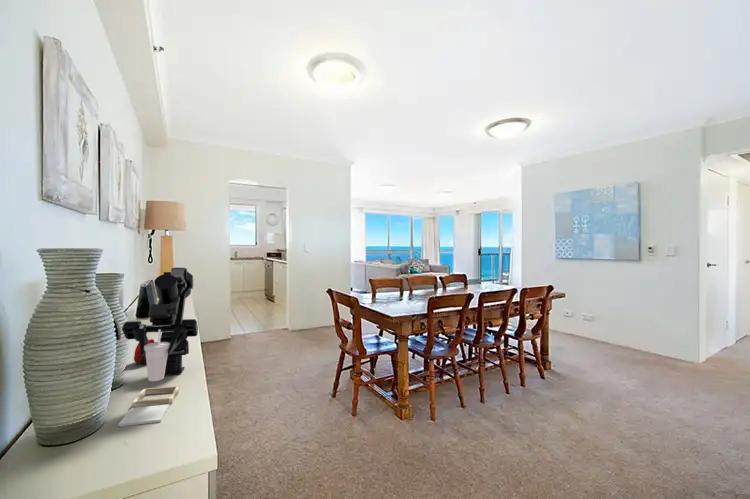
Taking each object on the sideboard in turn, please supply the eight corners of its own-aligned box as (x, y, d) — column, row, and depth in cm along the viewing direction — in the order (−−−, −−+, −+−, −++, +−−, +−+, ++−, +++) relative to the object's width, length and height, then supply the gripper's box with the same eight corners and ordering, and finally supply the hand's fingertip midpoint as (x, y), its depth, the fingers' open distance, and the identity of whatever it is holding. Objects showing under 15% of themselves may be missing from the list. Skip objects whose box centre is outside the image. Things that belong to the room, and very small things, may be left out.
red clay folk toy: (159, 359, 135) (160, 320, 136) (154, 364, 129) (155, 324, 129) (136, 360, 133) (137, 321, 133) (130, 366, 126) (131, 325, 126)
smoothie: (156, 383, 94) (158, 332, 94) (136, 381, 95) (138, 330, 96) (174, 375, 100) (176, 327, 101) (155, 373, 102) (157, 326, 102)
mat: (131, 410, 92) (131, 408, 92) (169, 406, 95) (169, 404, 95) (118, 426, 84) (118, 424, 84) (160, 421, 87) (160, 419, 87)
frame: (143, 393, 103) (143, 388, 103) (179, 390, 106) (179, 385, 106) (132, 407, 94) (132, 402, 94) (172, 403, 97) (172, 398, 97)
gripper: (125, 293, 99) (108, 341, 88) (197, 292, 105) (189, 337, 94) (133, 315, 106) (119, 362, 96) (201, 314, 112) (193, 358, 102)
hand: (155, 354), depth 97 cm, fingers closed on smoothie, 6 cm apart
